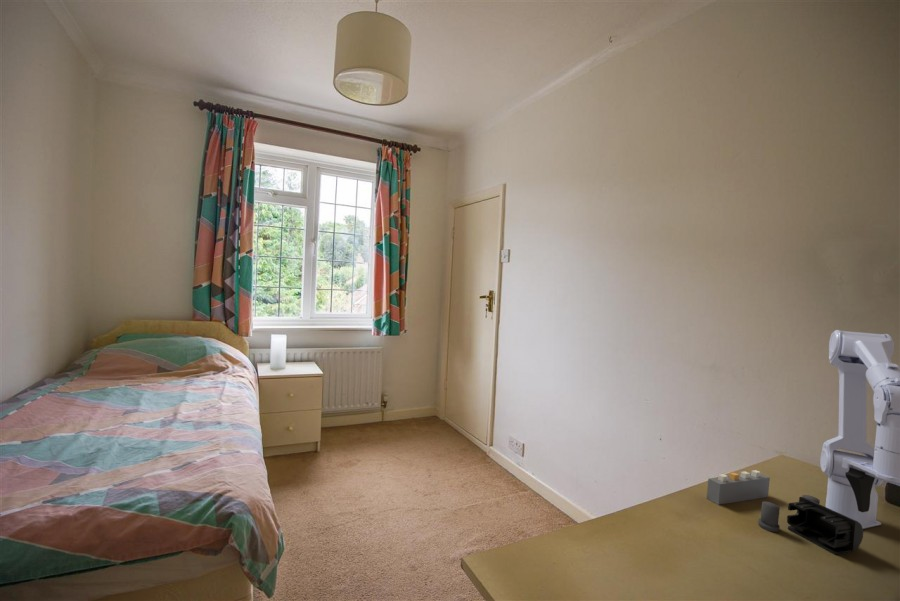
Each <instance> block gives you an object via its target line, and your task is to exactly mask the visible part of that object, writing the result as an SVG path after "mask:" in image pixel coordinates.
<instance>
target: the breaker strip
mask: <svg viewBox="0 0 900 601" xmlns="http://www.w3.org/2000/svg"><path fill="white" fill-rule="evenodd" d="M770 478H771V477H769V476H767V475H765V474H762V472H761V471H759V470H757V469H755V470H751V472H747V471H745V470H744V471H740V474H738V473H736V472H731V473H729V475H726V474H724V473H721V474H718V476H717V477H711V478H710V477H709V478H707V479H708V480H707V490H706V491H707V492H706V499H707V500H708V501H710V502H713V503H714V504H716V505H725V504H731V503H737V502H743V501H745V502H746V501H751V500H757V499H763V498H768V497H769V490H770V480H771V479H770Z"/></svg>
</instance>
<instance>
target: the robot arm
mask: <svg viewBox="0 0 900 601" xmlns="http://www.w3.org/2000/svg"><path fill="white" fill-rule="evenodd" d="M828 344H829V345H828V360H829V364H830V365H832V366H834V367H835V368H837V371H838V380H839V384H838V435H837V436H835V437H833V438H830V439H828V440H825V441H824V442H823V444H822V449H821V453H820V457H819V458H820V459H819V461H820V469H821V471H822V472H823V474H824V475H825V476H828V477H827V487H826V497H825V498H826V499H825V507H827V508H829V509H831V510H833V511H836V512H838V513H840V514H842V515H844V516H847V517H849V518H851V519H853V520H856V521H858V522H859V523H860V524H861V525H862V528H863V530H864V529H869V528H873V527H877V526H881V525H882V523H881V521H879V520H877V513H878V512H877V511H878V504H879V502H878V501H879V494H878V492H877V490H876V487H879V486H880V485H882V484H883V483H884V482H887V483H890V484H893V485H894V486H895V485H896V486H899V487H900V365H898V364H897V363H893V362H892V360H891V358H892V357H893V355H894V351H895V343H894V339H893V337H892V336H891V335H890V334H888V333H883V334H882V333H870V332H859V331H845V330H841V329H835V330H834V331H833V332H831V335H830V337H829V343H828ZM867 383H869V385H870V387H871V390H872V391H873V398H872V403H873V408H874V414H873V416H874V421H875V422H876V429H875V441H874V446H873V445H871V444H870V443H869V442H867V414H868V413H867V408H868V407H867V402H868V401H867V399H868V398H867V397H868V395H867V394H868V393H867V392H868V391H867V389H868V388H867V386H868V385H867ZM838 449H839V450H838ZM841 450H844V451H841ZM852 452H855V453H852ZM857 453H858V454H857ZM859 453H860V454H859Z"/></svg>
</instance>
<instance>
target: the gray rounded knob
mask: <svg viewBox="0 0 900 601" xmlns="http://www.w3.org/2000/svg"><path fill="white" fill-rule="evenodd" d="M780 509H781V508H780V506H779V505H777V504H776V503H773V502H770V501H765V500H763V501H762V502H761V509H760V510H761V513H760V518H759V519H758V523H757V524H758V526H759V527H760V528H762V529H763V530H766V531H768V532H771V533H779V532H780V525H779V518H780V517H779V516H780Z"/></svg>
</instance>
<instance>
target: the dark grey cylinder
mask: <svg viewBox="0 0 900 601" xmlns="http://www.w3.org/2000/svg"><path fill="white" fill-rule="evenodd" d="M801 497H804V498H807V499H809V500H811V501H813V502H816V503H818V504H820V503H821V502H820V499H819V498H817V497H815V496H812V495H807V494H803V495H802V496H801Z"/></svg>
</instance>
